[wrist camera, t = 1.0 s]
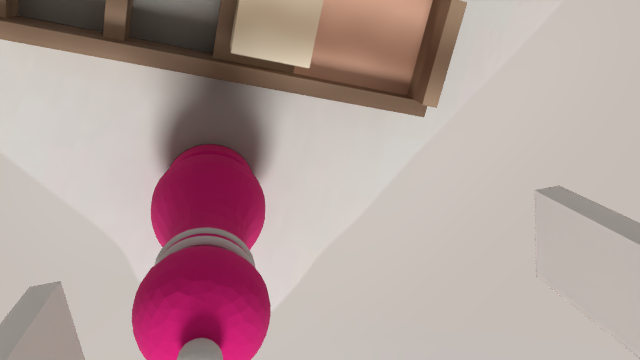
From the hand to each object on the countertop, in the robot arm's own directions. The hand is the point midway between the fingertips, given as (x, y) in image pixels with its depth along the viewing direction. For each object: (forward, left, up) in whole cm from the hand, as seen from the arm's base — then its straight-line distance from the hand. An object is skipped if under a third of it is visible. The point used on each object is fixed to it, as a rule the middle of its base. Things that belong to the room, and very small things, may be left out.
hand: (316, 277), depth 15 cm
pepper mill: (+7, -2, -24) cm, 25 cm away
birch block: (-6, 0, -22) cm, 23 cm away
